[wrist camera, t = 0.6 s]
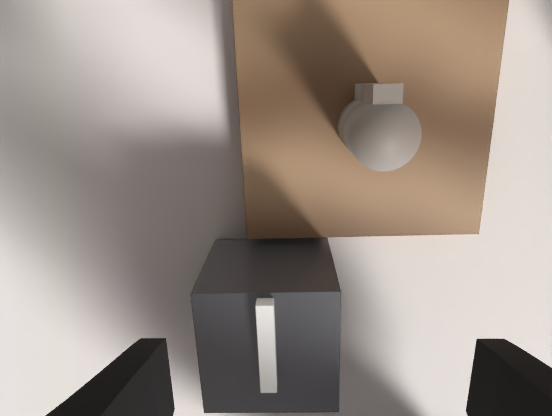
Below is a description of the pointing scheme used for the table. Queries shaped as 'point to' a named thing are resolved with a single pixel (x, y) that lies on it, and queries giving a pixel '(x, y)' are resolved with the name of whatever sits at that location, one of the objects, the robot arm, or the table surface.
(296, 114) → the block
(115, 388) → the robot arm
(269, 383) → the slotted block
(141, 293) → the table surface
